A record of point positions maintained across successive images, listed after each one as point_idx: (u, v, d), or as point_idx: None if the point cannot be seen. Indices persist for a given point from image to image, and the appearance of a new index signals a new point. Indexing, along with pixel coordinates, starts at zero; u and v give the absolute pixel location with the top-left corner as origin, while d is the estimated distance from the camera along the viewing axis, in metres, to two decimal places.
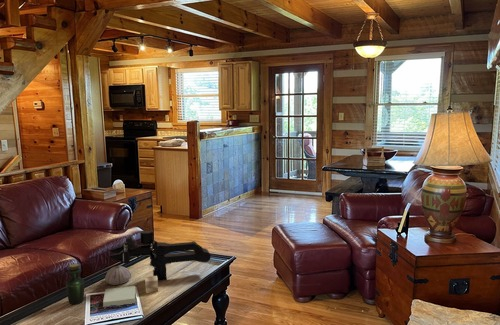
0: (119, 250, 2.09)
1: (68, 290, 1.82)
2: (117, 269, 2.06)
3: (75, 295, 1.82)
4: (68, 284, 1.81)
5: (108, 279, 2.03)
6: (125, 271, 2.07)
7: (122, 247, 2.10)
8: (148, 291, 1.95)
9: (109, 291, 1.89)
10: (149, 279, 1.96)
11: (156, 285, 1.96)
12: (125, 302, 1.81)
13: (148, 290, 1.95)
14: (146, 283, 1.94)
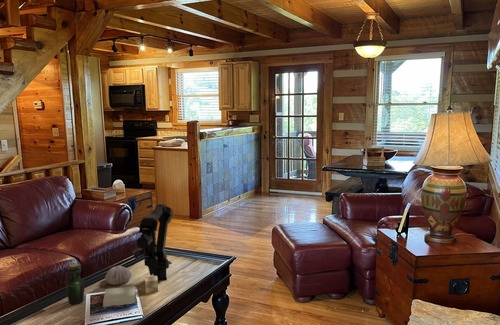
0: None
1: (68, 290, 1.82)
2: (117, 269, 2.06)
3: (75, 295, 1.82)
4: (68, 284, 1.81)
5: (108, 279, 2.03)
6: (125, 271, 2.07)
7: None
8: (148, 291, 1.95)
9: (109, 291, 1.89)
10: (149, 279, 1.96)
11: (156, 285, 1.96)
12: (125, 302, 1.81)
13: (148, 290, 1.95)
14: (146, 283, 1.94)
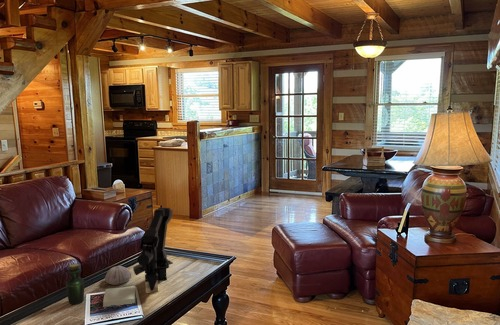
0: None
1: (68, 290, 1.82)
2: (117, 269, 2.06)
3: (75, 295, 1.82)
4: (68, 284, 1.81)
5: (108, 279, 2.03)
6: (125, 271, 2.07)
7: None
8: (148, 290, 1.95)
9: (109, 291, 1.89)
10: None
11: (156, 285, 1.96)
12: (125, 302, 1.81)
13: (148, 289, 1.95)
14: (146, 283, 1.94)
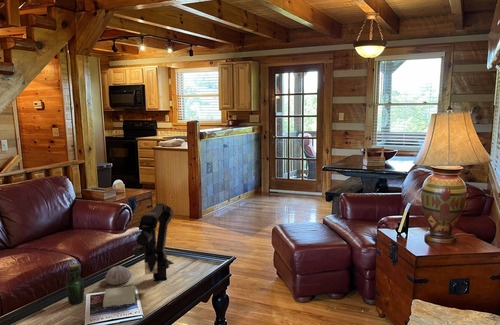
0: None
1: (68, 290, 1.82)
2: (117, 269, 2.06)
3: (75, 295, 1.82)
4: (68, 284, 1.81)
5: (108, 279, 2.03)
6: (125, 271, 2.07)
7: None
8: (147, 272, 1.94)
9: (109, 291, 1.89)
10: None
11: (155, 266, 1.94)
12: (125, 302, 1.81)
13: (147, 271, 1.94)
14: (145, 264, 1.93)
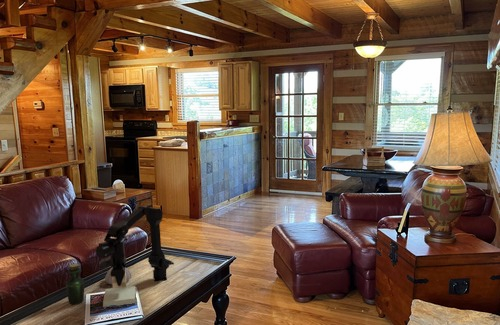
0: None
1: (68, 290, 1.82)
2: None
3: (75, 295, 1.82)
4: (68, 284, 1.81)
5: (108, 279, 2.03)
6: None
7: None
8: (115, 286, 1.83)
9: (109, 291, 1.89)
10: None
11: (124, 280, 1.84)
12: (125, 302, 1.81)
13: (115, 285, 1.83)
14: (113, 278, 1.83)
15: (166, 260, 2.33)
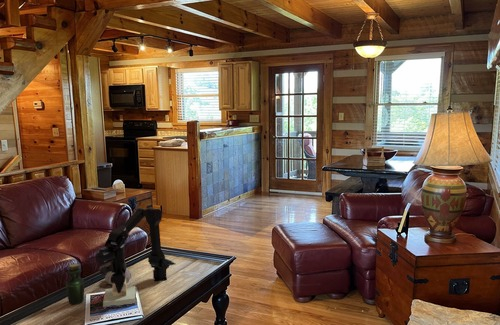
0: None
1: (68, 290, 1.82)
2: None
3: (75, 295, 1.82)
4: (68, 284, 1.81)
5: (108, 279, 2.03)
6: None
7: None
8: (115, 295, 1.84)
9: (109, 291, 1.89)
10: None
11: (124, 289, 1.84)
12: (125, 302, 1.81)
13: (116, 294, 1.84)
14: (113, 286, 1.83)
15: (167, 260, 2.33)
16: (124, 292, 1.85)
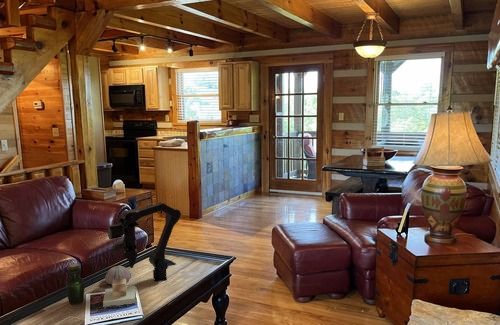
0: None
1: (68, 290, 1.82)
2: (117, 269, 2.06)
3: (75, 295, 1.82)
4: (68, 284, 1.81)
5: (108, 279, 2.03)
6: (125, 271, 2.07)
7: None
8: (115, 295, 1.84)
9: (109, 291, 1.89)
10: (117, 283, 1.85)
11: (124, 289, 1.84)
12: (125, 302, 1.81)
13: (116, 294, 1.84)
14: (113, 286, 1.83)
15: (168, 260, 2.32)
16: (124, 292, 1.85)
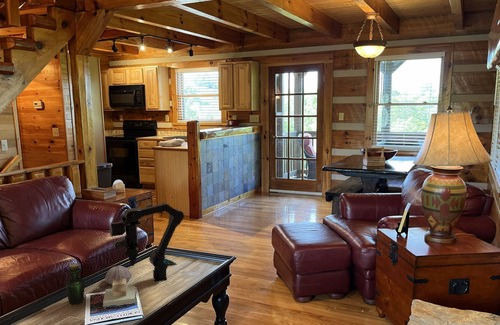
0: None
1: (68, 290, 1.82)
2: (117, 269, 2.06)
3: (75, 295, 1.82)
4: (68, 284, 1.81)
5: (108, 279, 2.03)
6: (125, 271, 2.07)
7: None
8: (115, 295, 1.84)
9: (109, 291, 1.89)
10: (117, 283, 1.85)
11: (124, 289, 1.84)
12: (125, 302, 1.81)
13: (116, 294, 1.84)
14: (113, 286, 1.83)
15: (168, 261, 2.32)
16: (124, 292, 1.85)
